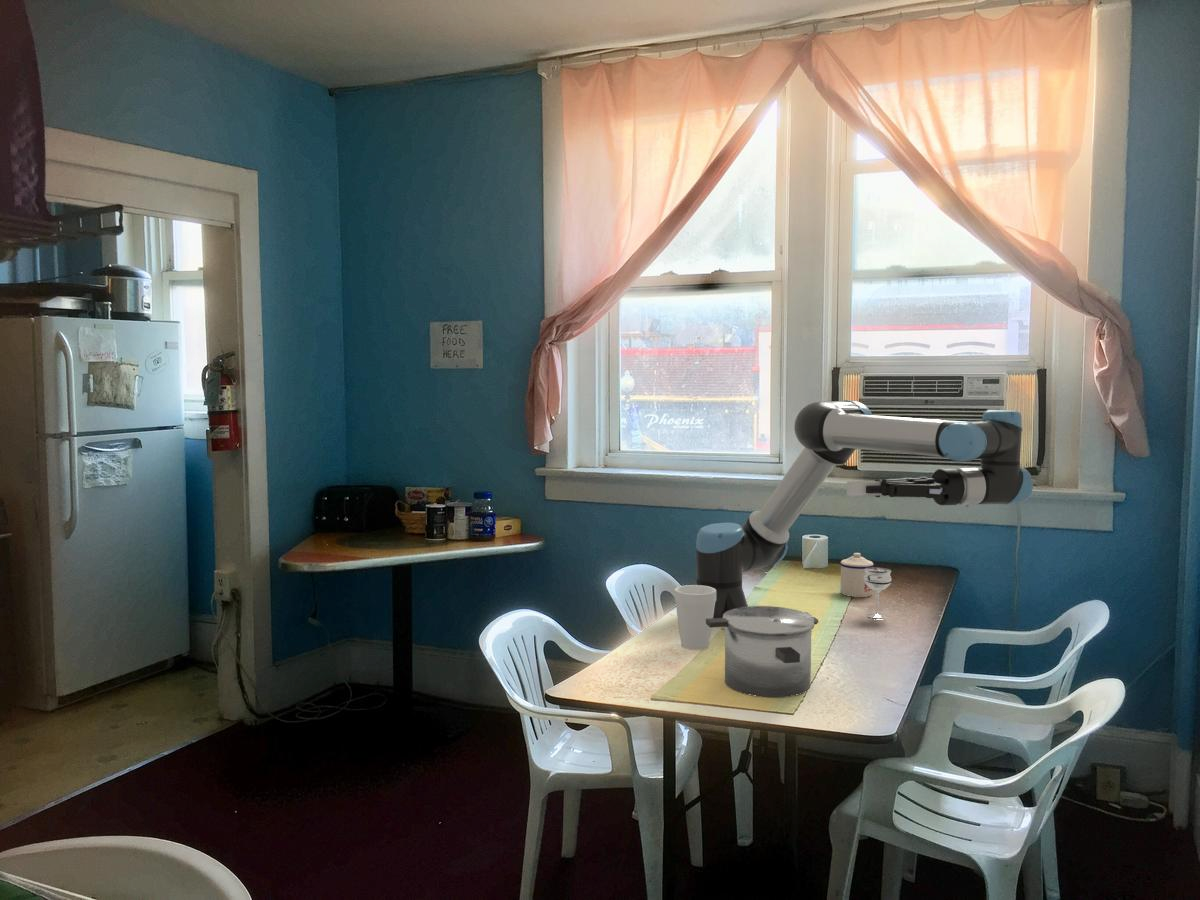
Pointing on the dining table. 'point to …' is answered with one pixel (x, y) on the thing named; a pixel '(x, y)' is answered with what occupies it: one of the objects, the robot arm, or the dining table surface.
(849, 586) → the teacup with lid
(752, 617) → the cooker lid
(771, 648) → the cooker pot
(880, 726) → the dining table surface
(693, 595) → the foam cup
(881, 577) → the wineglass
